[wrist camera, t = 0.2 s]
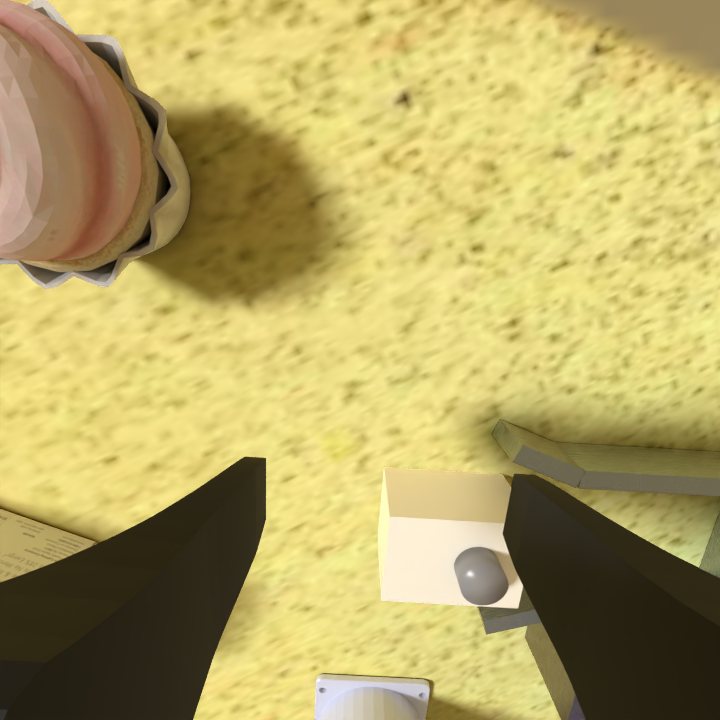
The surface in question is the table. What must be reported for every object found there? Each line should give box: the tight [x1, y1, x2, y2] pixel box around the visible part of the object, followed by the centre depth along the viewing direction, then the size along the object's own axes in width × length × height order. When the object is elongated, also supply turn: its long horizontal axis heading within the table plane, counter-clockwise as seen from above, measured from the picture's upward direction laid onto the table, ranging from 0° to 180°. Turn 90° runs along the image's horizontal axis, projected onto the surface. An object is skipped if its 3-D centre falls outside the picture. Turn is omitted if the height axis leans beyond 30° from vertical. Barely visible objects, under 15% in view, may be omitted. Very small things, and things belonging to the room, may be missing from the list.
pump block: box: [378, 467, 523, 609], centre depth 19 cm, size 5×7×6 cm
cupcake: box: [0, 0, 191, 289], centre depth 13 cm, size 9×9×10 cm
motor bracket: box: [477, 419, 720, 720], centre depth 19 cm, size 16×16×6 cm
